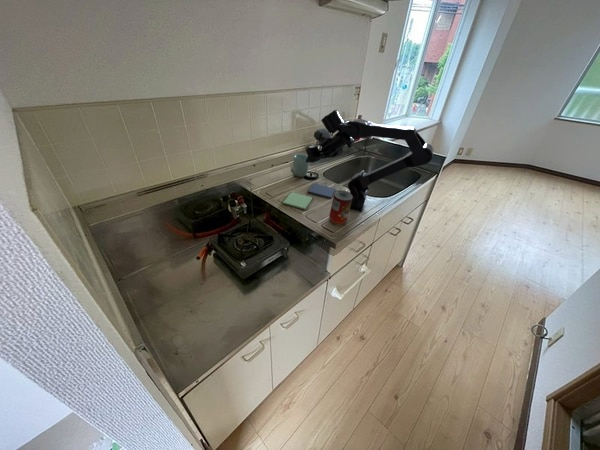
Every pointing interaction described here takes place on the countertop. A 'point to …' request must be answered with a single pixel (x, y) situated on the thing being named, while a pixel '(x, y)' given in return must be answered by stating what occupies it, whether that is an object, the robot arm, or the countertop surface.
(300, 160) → the cup
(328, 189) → the can mat
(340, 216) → the soda can
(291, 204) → the cup mat
